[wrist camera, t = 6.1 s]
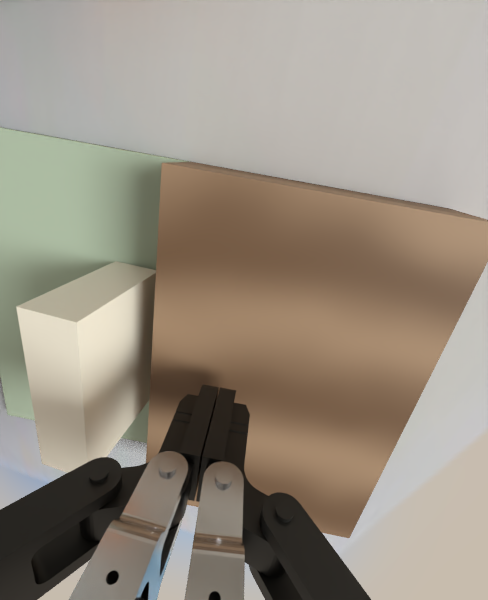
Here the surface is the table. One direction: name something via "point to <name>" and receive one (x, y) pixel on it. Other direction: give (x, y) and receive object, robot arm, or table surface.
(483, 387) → the table surface
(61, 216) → the mat
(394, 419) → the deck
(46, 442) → the tile
